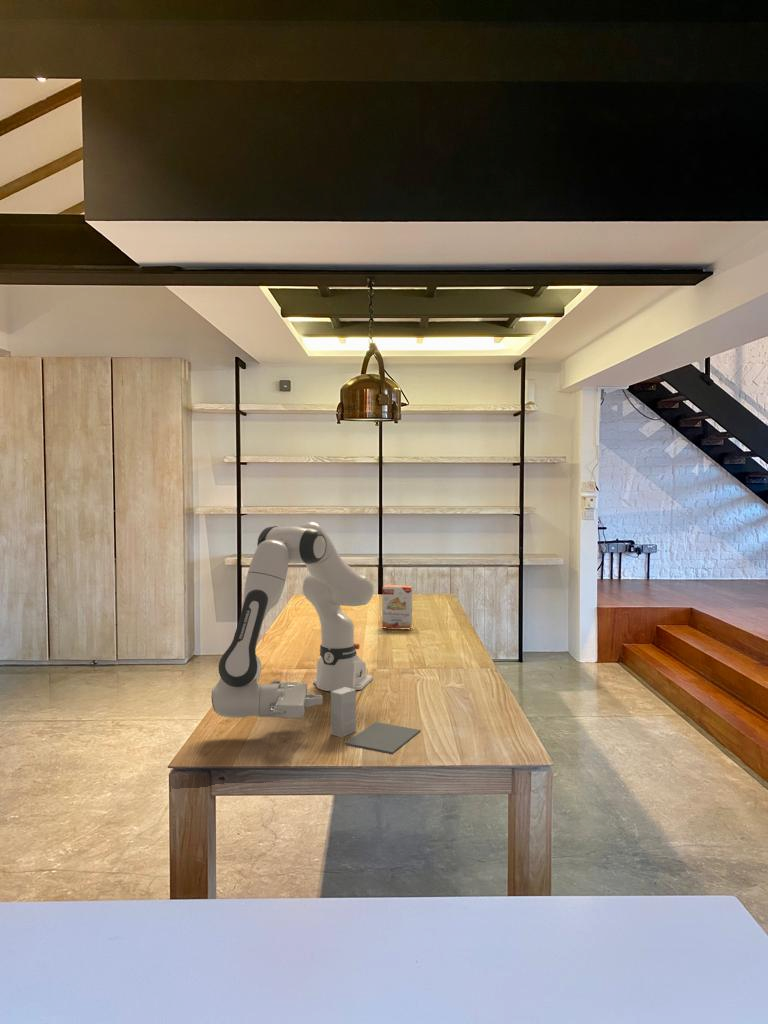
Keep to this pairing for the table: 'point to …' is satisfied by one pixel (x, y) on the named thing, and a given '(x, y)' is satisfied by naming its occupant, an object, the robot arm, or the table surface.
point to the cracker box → (397, 606)
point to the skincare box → (343, 712)
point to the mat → (383, 737)
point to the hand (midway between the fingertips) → (322, 699)
